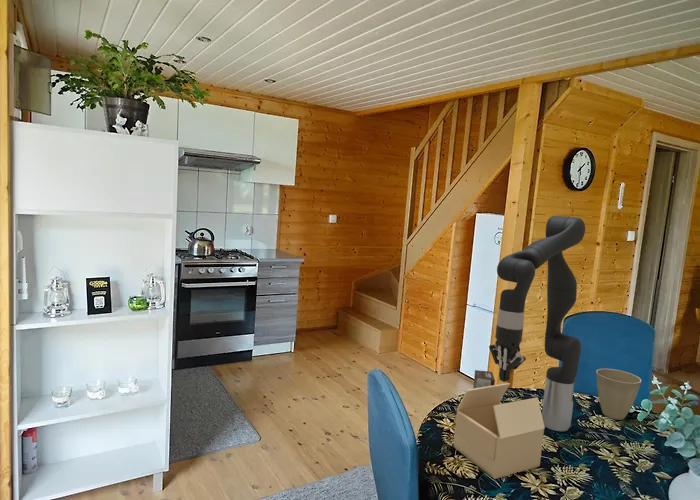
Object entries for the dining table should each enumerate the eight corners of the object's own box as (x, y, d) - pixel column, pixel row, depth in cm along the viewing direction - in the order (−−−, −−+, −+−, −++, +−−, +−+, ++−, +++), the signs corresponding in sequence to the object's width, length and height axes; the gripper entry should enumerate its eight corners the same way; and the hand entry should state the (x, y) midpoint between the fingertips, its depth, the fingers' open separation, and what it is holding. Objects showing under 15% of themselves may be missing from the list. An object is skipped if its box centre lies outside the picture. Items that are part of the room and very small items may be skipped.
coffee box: (490, 424, 164) (495, 380, 162) (471, 421, 165) (476, 378, 163) (488, 413, 173) (492, 371, 171) (470, 410, 174) (474, 369, 172)
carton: (497, 436, 155) (500, 402, 154) (540, 465, 139) (545, 427, 138) (452, 447, 147) (455, 410, 145) (493, 479, 131) (497, 439, 129)
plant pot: (635, 414, 181) (641, 374, 179) (635, 428, 168) (641, 386, 166) (593, 403, 188) (598, 365, 187) (589, 416, 176) (594, 375, 174)
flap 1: (499, 402, 154) (498, 401, 154) (510, 384, 149) (509, 382, 150) (457, 410, 146) (456, 409, 146) (468, 390, 142) (467, 389, 142)
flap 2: (536, 397, 140) (537, 397, 140) (543, 428, 138) (544, 428, 137) (493, 405, 132) (494, 405, 132) (499, 438, 130) (501, 438, 129)
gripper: (536, 330, 134) (529, 387, 136) (502, 318, 146) (497, 371, 148) (517, 332, 131) (511, 391, 133) (484, 319, 143) (478, 374, 145)
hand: (503, 380), depth 140 cm, fingers closed
